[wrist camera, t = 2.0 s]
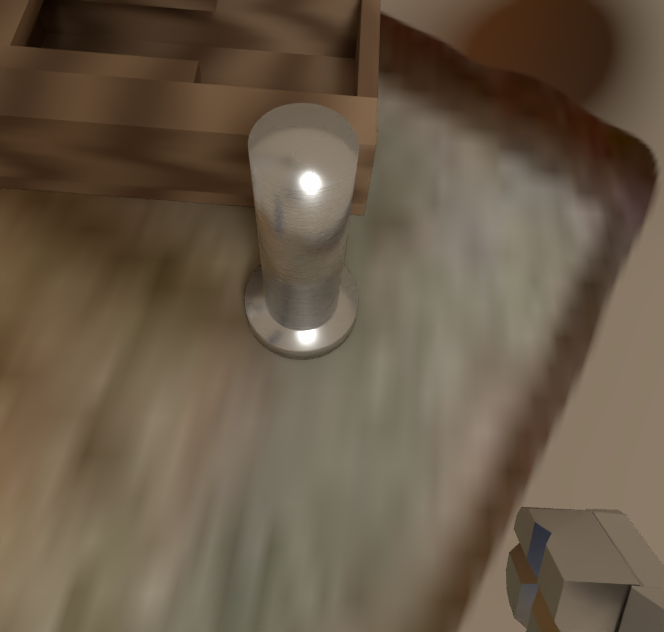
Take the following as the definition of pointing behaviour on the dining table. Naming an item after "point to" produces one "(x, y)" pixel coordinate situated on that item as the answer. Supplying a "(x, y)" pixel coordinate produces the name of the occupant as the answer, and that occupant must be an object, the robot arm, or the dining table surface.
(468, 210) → the dining table surface
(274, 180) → the steel peg
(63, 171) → the wooden compartment tray
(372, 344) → the dining table surface
